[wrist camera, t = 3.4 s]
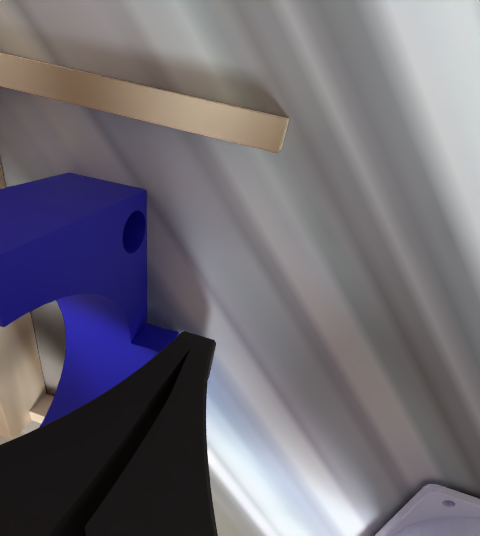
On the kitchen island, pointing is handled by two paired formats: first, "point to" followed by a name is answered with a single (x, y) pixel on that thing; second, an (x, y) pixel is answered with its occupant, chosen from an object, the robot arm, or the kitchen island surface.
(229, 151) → the kitchen island surface
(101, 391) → the blue pipe clamp half
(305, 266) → the kitchen island surface
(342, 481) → the kitchen island surface
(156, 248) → the kitchen island surface
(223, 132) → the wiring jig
